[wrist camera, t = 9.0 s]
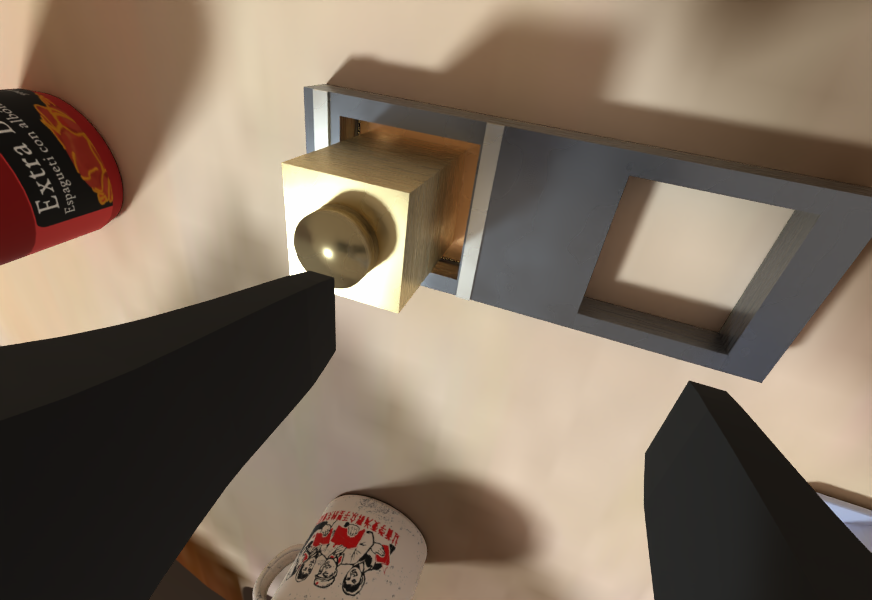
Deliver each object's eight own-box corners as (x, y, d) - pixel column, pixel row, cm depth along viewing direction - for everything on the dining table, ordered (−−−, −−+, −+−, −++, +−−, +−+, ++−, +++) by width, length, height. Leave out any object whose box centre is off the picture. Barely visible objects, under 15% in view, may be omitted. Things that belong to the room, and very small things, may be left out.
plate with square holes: (749, 358, 17) (762, 384, 15) (328, 241, 21) (310, 254, 19) (870, 187, 13) (900, 203, 12) (325, 84, 17) (302, 87, 16)
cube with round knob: (452, 243, 18) (388, 327, 13) (369, 221, 19) (275, 291, 14) (467, 149, 16) (397, 202, 11) (372, 129, 17) (263, 169, 12)
